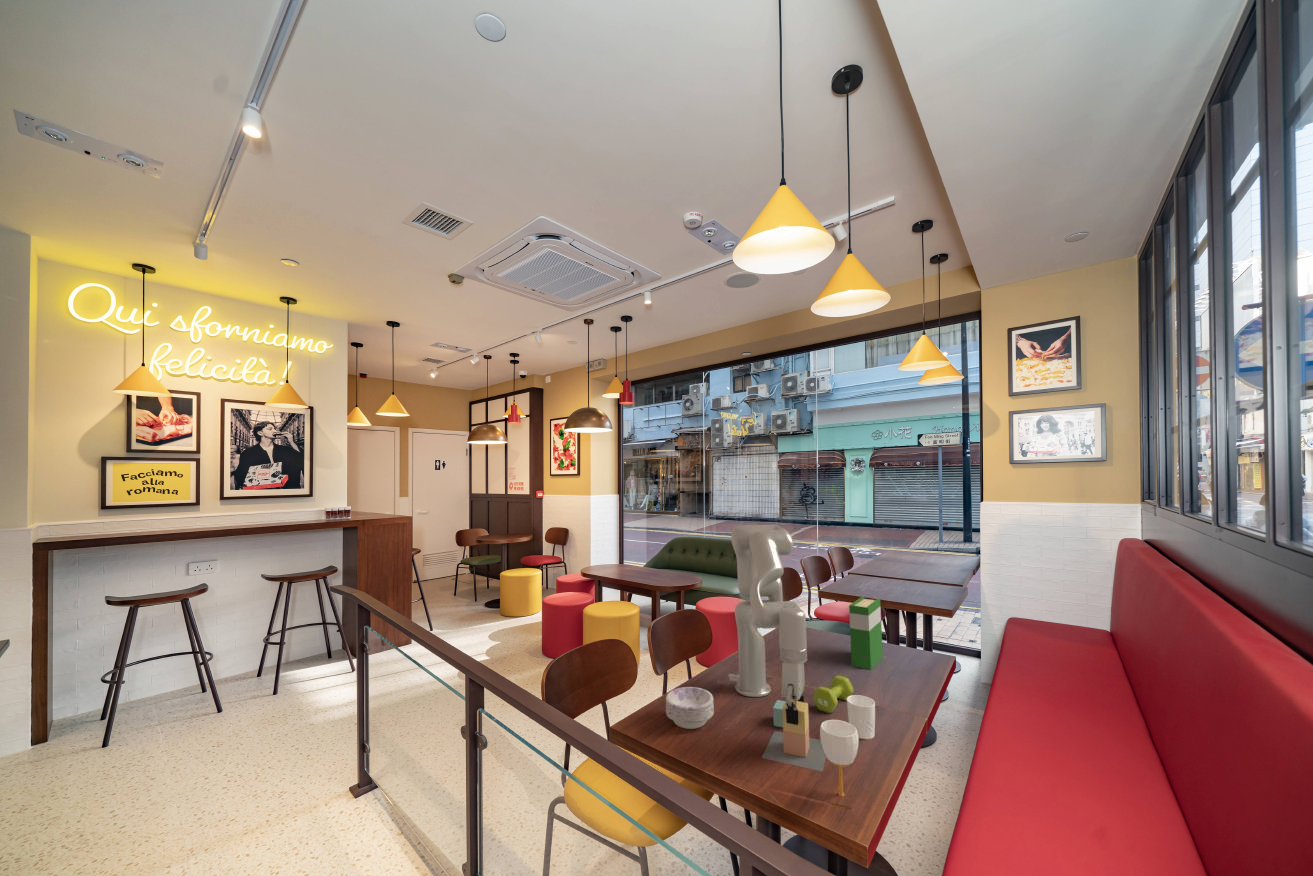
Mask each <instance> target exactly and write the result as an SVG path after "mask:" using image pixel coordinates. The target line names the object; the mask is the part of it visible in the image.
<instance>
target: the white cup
mask: <svg viewBox="0 0 1313 876" xmlns="http://www.w3.org/2000/svg"><path fill="white" fill-rule="evenodd" d="M846 705H847V706H846V707H847V718H848V723H850V724H852V725H853V726H854V727H855V728H856V730H857V733H858V738H859V739H861V740H862V739H863V740H870V739H873V738H874V737H875V734H876V733H875V727H876V702H875V700H874V699H873V698H871V697H868V696H866V695H860V694H854V695H853V694H852V695H851V696H849V697H847V700H846Z"/></svg>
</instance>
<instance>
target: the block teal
mask: <svg viewBox="0 0 1313 876" xmlns="http://www.w3.org/2000/svg"><path fill="white" fill-rule="evenodd" d="M785 702H786V700H779V699H777V700H776V701H775V704H774V705H773V707H772V712H773V713H772V714H773V726H774V727H778V728H783V710H782V708H783V706H784V704H785Z"/></svg>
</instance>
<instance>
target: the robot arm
mask: <svg viewBox="0 0 1313 876" xmlns="http://www.w3.org/2000/svg"><path fill="white" fill-rule="evenodd" d="M730 537H731V545H732V547H733V550H734V553H735V556H736V564H737V565H736V569H737V571H736V572H737V587H738V592H739V594H740V596H743V597H745V598H749V600H743V601H740V602H738V603H736V605H735V608H734V616H735V623H736V628H737V642H738V643H737V645H738V673H737V674H733V673H728V676H727V677H728V680H729V682H731V683H735V685H734V687H735V691H736V692H737V693H738V694H740V695H742V696H745V697H751V698H759V697H765V696H767V695H769V694H770V693H771V690H772V689H771V686H770V685H769V683H768V682H767V675H766V673H767V671H766V643H765V639H764V637H763V635H762V634H761V632H759V630H758V629H766V630H767V629H769V630H770V629H778V637H779V639H778V640H779V642H778V643H779V658H780V660H781V661H782V665H781V668H782V669H781V697H782V698H783V699H784V698H786V700H785V701H786V722H787V723H789V724H794V725H798V723H799V721H798V709H797V701H799V702H805V696H804V690H805V686H806V684H805V676H806V675H805V663H806V662H807V661H808V648H807V623H806V621H807V620H806V613H805V611H804V610H803V609H802V608H801V606H799V604H798V603H797V602H795V601H791V600H785V601H783V600H784V598H783V597H784V596H783V594H784V593H783V582H782V579H781V577H782V576H783V575H784V571H785V570H784V567H783V563H782V559H781V557H780V556H788V555H790V554H791V553H793V550H794V540H793V538H792V536H791V534H790V532H789V531H788V530H787V529H785V528H784V527H781V526H779V525H777V524H746V525H745V524H744V525H743V524H742V525H738V526H735V527H734V528H733V529H732V530H731V536H730ZM763 597H765V598H766V597H768V599H762V598H763ZM792 700H793V701H795V703H793V702H792Z"/></svg>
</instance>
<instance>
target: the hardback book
mask: <svg viewBox="0 0 1313 876" xmlns="http://www.w3.org/2000/svg"><path fill="white" fill-rule="evenodd" d="M848 608H849V631H850V632H849V633H850V651H851V655H850V656H851V666H852V667H856V668H860V669H865V670H868V671H872V670H873V669H874V668H875V666H876V665H877V664H878V663H879V662H880V661H881V659H882V658H884V657H883V656H884V655H883V654H884V653H883V652H884V651H883V650H884V649H883V637H882V636H883V635H882V632H883V631H882V629H883V628H882V614H881V613H882V611H881V610H882V609H881V599H880V598H877V599H868V598H865V596H861V597H859V598H858V599H857V600H855V601H853V602H851V604H849V606H848Z"/></svg>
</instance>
